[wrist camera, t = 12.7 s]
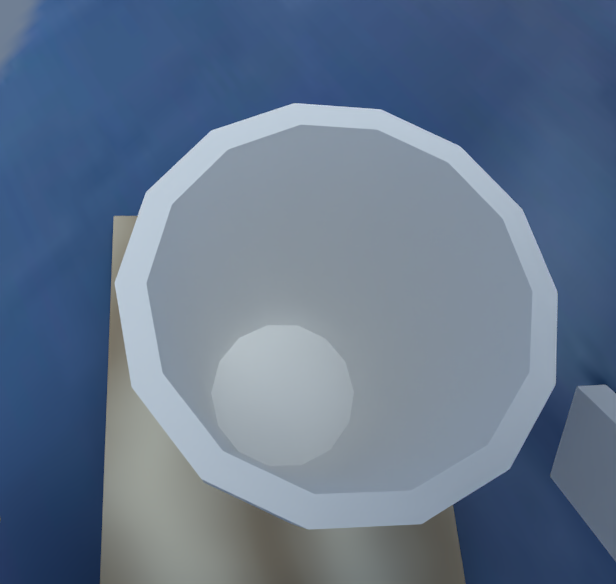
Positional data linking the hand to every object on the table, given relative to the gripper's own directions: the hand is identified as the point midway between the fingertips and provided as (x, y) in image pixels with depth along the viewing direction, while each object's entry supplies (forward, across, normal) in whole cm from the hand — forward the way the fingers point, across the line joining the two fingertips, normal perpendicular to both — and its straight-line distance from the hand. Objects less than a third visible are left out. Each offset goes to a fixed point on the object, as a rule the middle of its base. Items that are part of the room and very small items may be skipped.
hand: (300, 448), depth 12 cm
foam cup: (+10, +1, -6) cm, 12 cm away
